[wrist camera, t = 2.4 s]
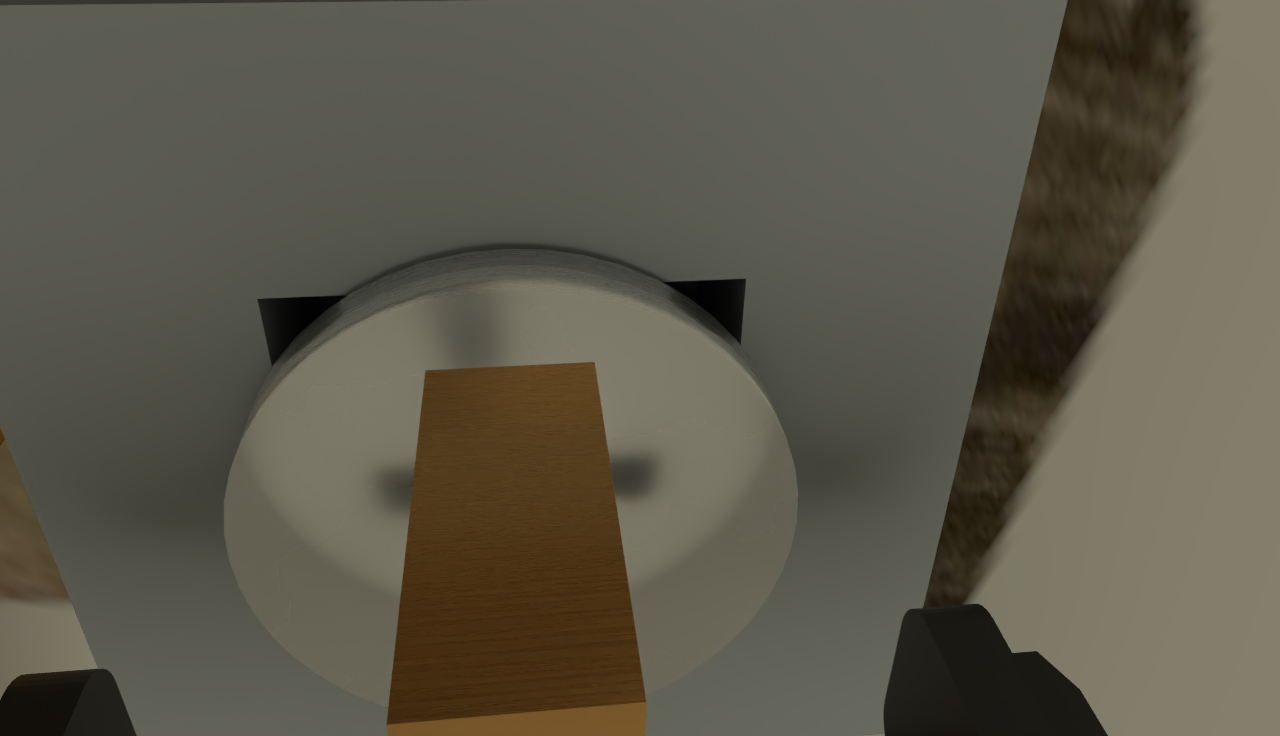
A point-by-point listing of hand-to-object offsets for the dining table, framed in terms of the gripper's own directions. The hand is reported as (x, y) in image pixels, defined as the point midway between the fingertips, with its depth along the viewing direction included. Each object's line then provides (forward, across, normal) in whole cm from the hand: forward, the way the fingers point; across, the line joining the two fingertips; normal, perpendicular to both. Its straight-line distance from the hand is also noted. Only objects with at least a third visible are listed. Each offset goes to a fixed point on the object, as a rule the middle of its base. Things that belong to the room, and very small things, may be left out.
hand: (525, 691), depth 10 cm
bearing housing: (+11, 0, 0) cm, 11 cm away
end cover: (+6, 0, 0) cm, 6 cm away
